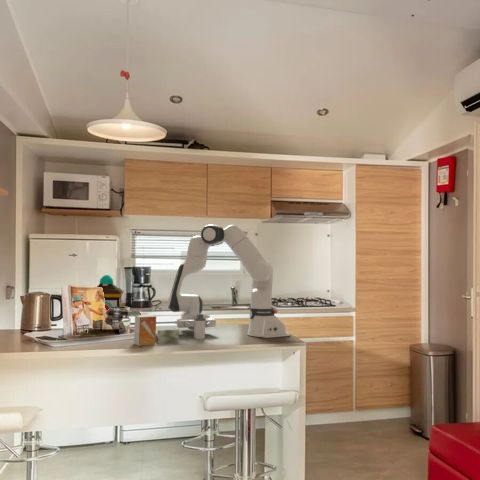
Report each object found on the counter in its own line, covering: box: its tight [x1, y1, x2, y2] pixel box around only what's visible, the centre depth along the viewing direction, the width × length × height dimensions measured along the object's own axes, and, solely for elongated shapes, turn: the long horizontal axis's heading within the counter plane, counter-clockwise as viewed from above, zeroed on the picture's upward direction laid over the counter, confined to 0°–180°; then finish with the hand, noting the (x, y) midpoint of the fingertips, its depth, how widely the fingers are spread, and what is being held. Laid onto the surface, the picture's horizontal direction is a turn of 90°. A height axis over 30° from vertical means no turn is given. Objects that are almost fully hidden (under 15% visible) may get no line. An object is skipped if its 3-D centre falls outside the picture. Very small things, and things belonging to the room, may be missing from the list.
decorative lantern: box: [96, 274, 126, 310], centre depth 239 cm, size 20×20×30 cm
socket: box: [155, 328, 180, 344], centre depth 214 cm, size 10×10×6 cm
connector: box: [193, 313, 206, 340], centre depth 224 cm, size 5×5×12 cm
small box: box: [133, 314, 157, 347], centre depth 205 cm, size 8×6×13 cm
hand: (199, 325), depth 224 cm, fingers open, 8 cm apart
